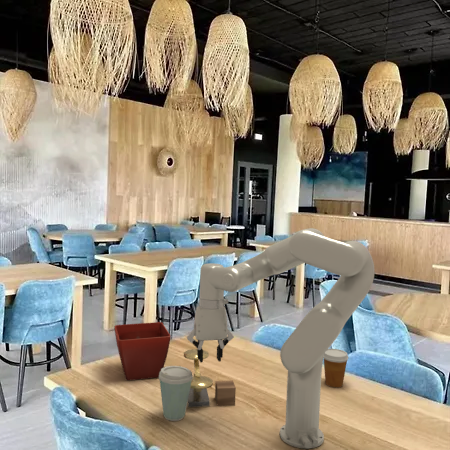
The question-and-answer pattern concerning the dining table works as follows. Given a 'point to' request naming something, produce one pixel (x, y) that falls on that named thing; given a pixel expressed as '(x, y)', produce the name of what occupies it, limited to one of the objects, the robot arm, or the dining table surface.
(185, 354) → the balance
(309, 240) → the robot arm
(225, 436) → the dining table surface
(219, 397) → the walnut block
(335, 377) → the disposable coffee cup
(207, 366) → the dining table surface
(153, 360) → the plant pot
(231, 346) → the dining table surface
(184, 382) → the disposable coffee cup
